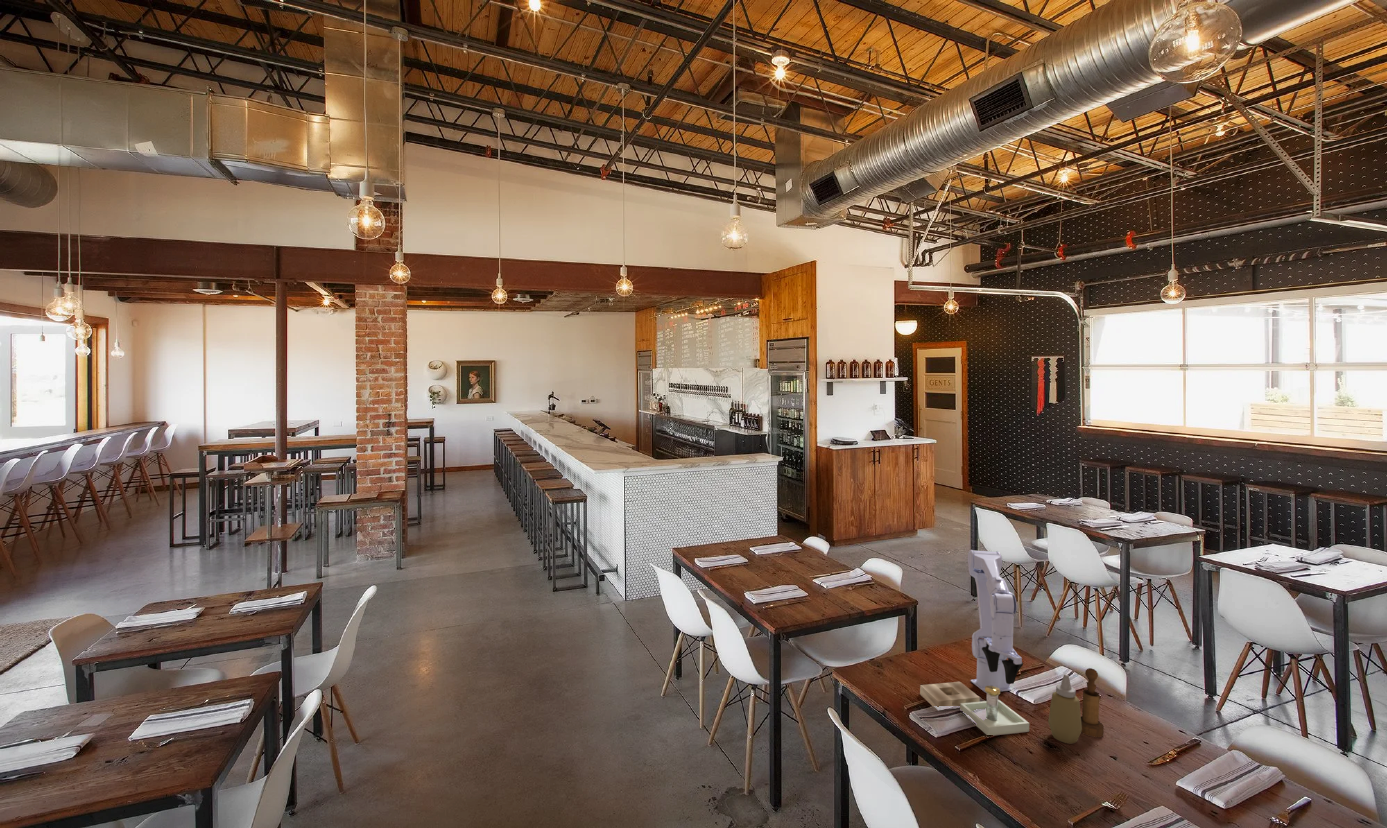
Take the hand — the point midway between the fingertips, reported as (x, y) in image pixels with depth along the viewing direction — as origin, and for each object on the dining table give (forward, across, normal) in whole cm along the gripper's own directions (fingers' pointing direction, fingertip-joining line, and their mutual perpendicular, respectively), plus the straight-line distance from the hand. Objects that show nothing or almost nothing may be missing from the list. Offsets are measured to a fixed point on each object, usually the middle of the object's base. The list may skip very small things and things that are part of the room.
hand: (1001, 677), depth 183 cm
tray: (+10, +5, -6) cm, 13 cm away
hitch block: (+10, -8, -12) cm, 18 cm away
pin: (+10, +4, -6) cm, 12 cm away
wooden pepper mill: (+11, +14, +18) cm, 25 cm away
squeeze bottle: (+11, +16, +8) cm, 21 cm away
